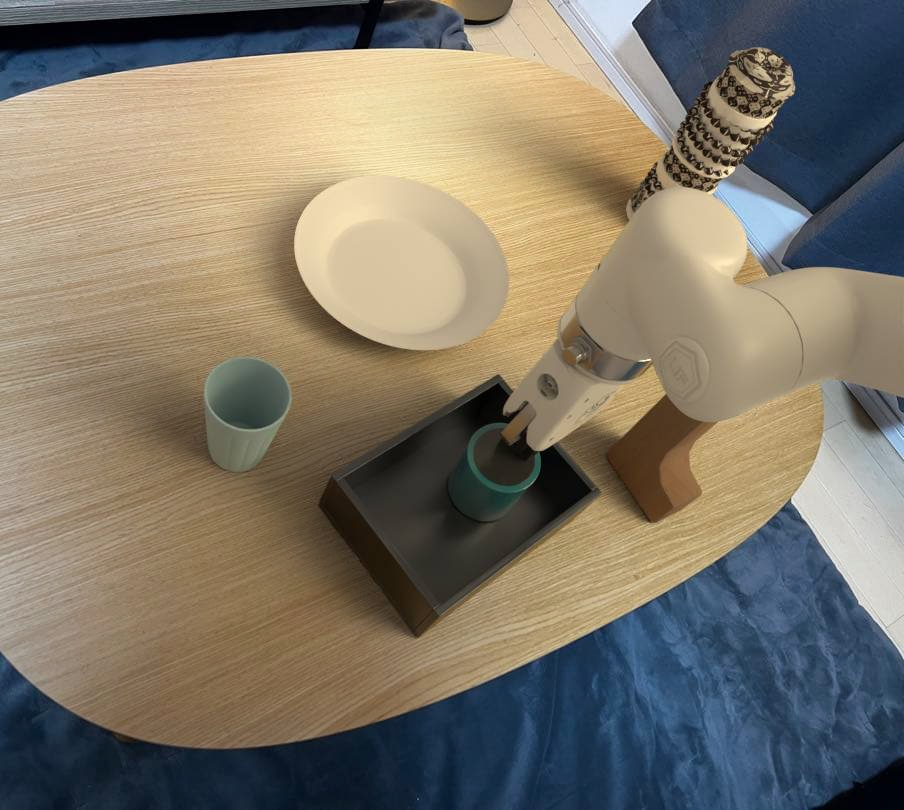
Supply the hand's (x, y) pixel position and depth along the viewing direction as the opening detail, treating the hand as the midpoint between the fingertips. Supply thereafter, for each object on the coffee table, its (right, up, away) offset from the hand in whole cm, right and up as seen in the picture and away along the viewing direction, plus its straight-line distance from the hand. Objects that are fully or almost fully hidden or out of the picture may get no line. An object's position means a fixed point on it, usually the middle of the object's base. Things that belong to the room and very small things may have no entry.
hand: (519, 445), depth 79 cm
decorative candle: (+25, +29, +36) cm, 52 cm away
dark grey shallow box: (-6, -7, +6) cm, 11 cm away
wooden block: (+16, -5, +13) cm, 21 cm away
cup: (-27, 0, +4) cm, 27 cm away
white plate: (-11, +18, +20) cm, 29 cm away
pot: (-3, -5, +7) cm, 8 cm away
